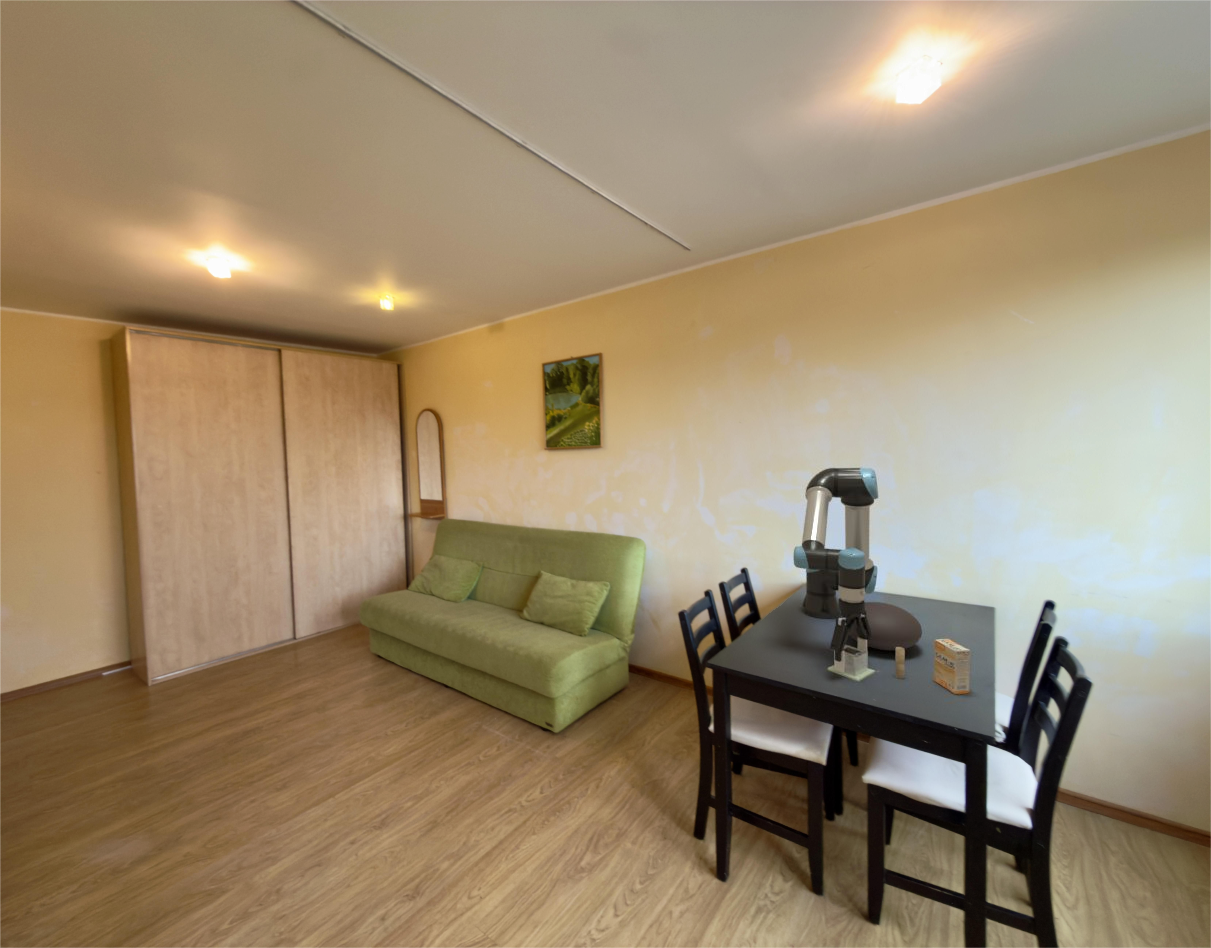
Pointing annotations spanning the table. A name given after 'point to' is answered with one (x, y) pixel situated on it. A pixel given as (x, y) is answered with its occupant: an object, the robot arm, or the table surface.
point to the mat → (856, 678)
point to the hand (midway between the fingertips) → (851, 664)
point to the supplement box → (952, 666)
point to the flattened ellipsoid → (890, 627)
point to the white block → (854, 660)
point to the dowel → (899, 662)
